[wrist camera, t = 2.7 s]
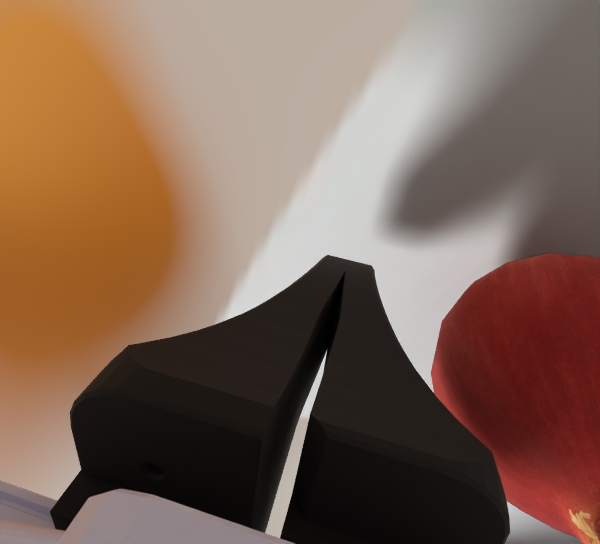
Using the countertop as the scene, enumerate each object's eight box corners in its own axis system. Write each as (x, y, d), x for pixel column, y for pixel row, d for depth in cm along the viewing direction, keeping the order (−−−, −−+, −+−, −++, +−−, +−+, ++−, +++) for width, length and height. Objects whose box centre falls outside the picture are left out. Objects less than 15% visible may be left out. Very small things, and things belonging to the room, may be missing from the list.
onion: (698, 260, 11) (1083, 603, 5) (554, 390, 15) (662, 703, 8) (500, 170, 11) (603, 382, 5) (399, 319, 15) (378, 570, 8)
